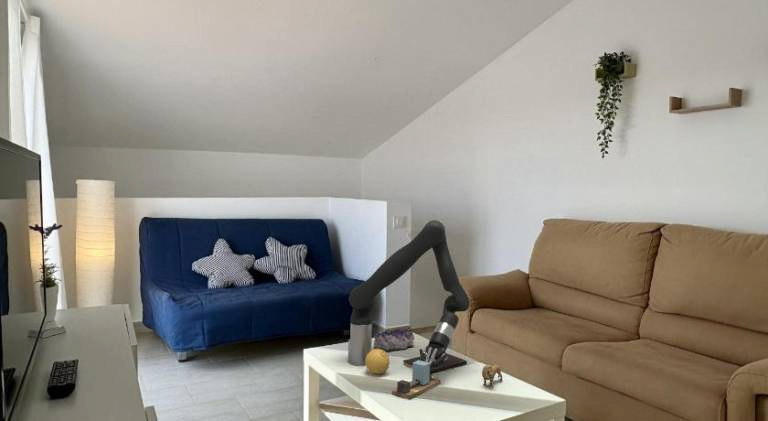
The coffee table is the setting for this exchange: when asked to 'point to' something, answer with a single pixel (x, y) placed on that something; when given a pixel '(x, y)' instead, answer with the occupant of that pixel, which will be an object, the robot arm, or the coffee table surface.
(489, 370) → the lion figurine
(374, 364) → the stress ball
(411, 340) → the geode
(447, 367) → the hardcover book
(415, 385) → the rail
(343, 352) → the coffee table surface
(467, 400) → the coffee table surface
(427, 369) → the pale blue squarish block
